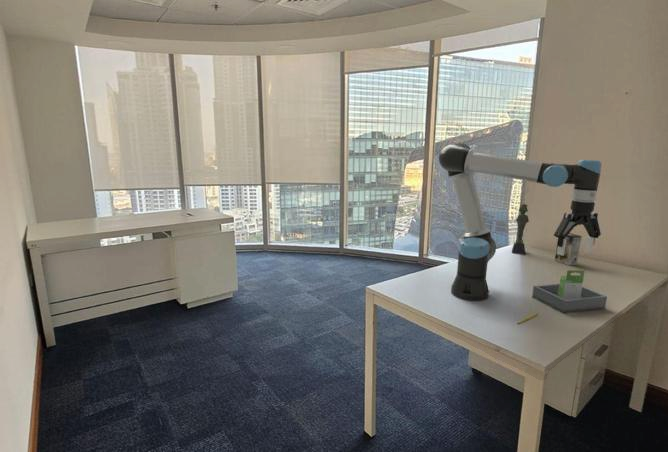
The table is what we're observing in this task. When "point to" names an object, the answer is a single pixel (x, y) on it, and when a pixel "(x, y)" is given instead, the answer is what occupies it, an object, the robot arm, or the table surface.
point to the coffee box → (570, 250)
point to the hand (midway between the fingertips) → (574, 253)
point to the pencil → (527, 318)
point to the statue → (520, 230)
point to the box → (584, 303)
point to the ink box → (571, 285)
